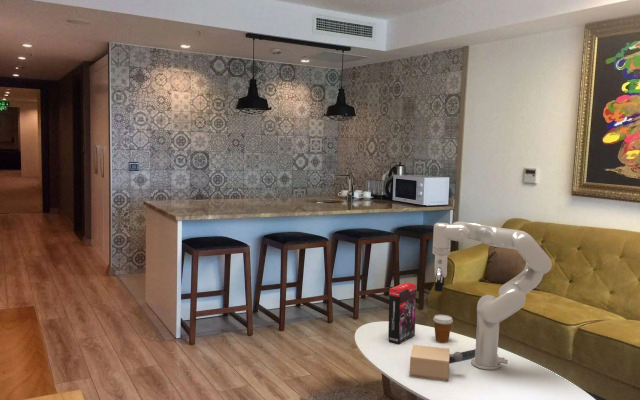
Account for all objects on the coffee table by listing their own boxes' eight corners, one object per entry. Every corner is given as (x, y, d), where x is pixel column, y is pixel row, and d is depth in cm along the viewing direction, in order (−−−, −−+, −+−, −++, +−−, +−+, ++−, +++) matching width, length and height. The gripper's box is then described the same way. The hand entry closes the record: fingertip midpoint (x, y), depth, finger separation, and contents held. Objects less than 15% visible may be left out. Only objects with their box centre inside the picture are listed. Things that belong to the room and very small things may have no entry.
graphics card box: (398, 345, 268) (401, 291, 265) (386, 341, 272) (388, 288, 269) (415, 335, 281) (417, 284, 278) (403, 332, 285) (405, 281, 282)
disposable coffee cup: (428, 340, 275) (429, 317, 274) (438, 335, 282) (439, 313, 281) (445, 345, 269) (446, 322, 268) (455, 340, 276) (456, 317, 274)
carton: (448, 367, 243) (449, 350, 242) (448, 381, 229) (449, 362, 228) (412, 363, 247) (413, 346, 246) (409, 376, 233) (410, 358, 232)
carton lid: (462, 355, 241) (462, 346, 240) (462, 368, 227) (463, 359, 227) (412, 349, 246) (413, 340, 246) (410, 361, 232) (410, 352, 232)
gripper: (448, 255, 235) (446, 294, 237) (450, 247, 252) (449, 284, 253) (430, 253, 237) (429, 292, 239) (434, 246, 254) (432, 282, 256)
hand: (439, 288), depth 246 cm, fingers open, 9 cm apart
